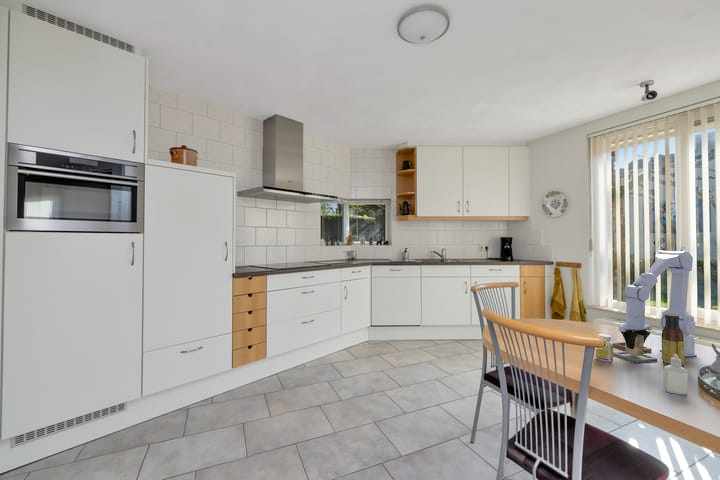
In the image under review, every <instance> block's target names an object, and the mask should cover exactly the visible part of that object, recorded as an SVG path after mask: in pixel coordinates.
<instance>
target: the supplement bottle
mask: <svg viewBox="0 0 720 480" xmlns="http://www.w3.org/2000/svg"><path fill="white" fill-rule="evenodd" d="M597 335H598V336H600V337H603V338H604V339H606V341H607V346H606V347H605V348H602V349H596V350H595V353H596V355H595V357H596V359H597V360H598V361H602V362H607V363H611V362H613V360H614V355H613V352H614V347H613V343H614V342H612V341H611V339H612V336H611V335H610V334H604V333H598V334H597Z"/></svg>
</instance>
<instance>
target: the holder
mask: <svg viewBox="0 0 720 480" xmlns="http://www.w3.org/2000/svg"><path fill="white" fill-rule="evenodd" d="M612 343H613V348H615V349H618V350H621V351H625V346H626V342H625V341H618V342H612ZM652 351H653V349H652V348H650V347H647V346H644V349H643V354H646V353H648V354H649V353H652Z"/></svg>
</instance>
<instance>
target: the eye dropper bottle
mask: <svg viewBox="0 0 720 480" xmlns="http://www.w3.org/2000/svg"><path fill="white" fill-rule="evenodd" d="M670 364H671V365H667V366H665V365H664V366H663V374H662V380H663V381H662V389H663V390H664V391H665V392H667V393H669V394H674V395H683V396H684V395H686V396H687V395H688V392H689V390H688V389H689V371H688V369H687V368H685V367H684V368H683V367H681V359H679V358H678V355H677V354H674V357H672V358H671V363H670Z"/></svg>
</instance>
